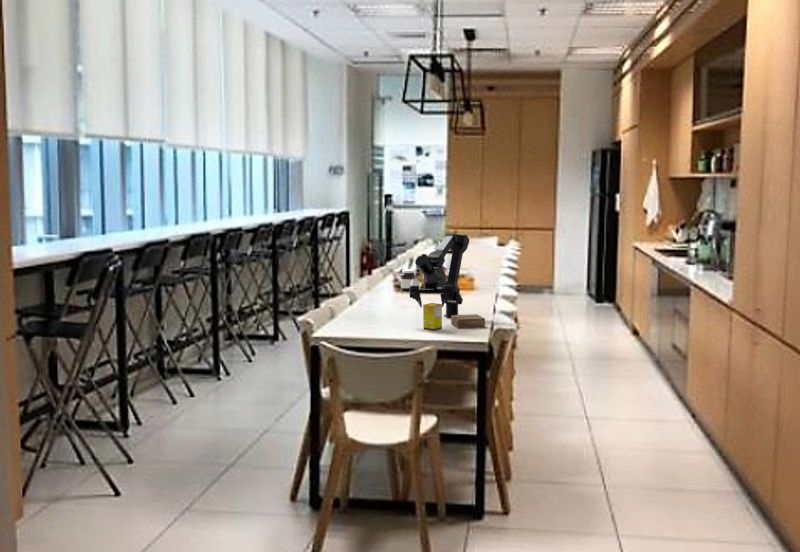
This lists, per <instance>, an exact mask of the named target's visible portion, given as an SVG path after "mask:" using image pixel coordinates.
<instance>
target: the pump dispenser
mask: <svg viewBox="0 0 800 552" xmlns="http://www.w3.org/2000/svg"><path fill="white" fill-rule="evenodd" d="M435 269H436V273H437V274H441V282H438V287H437V289H442V285H443V284H445V283H446V282H447V279H448V277H447V274H446V271H445V269H444V267H443V266H442V267H441V268H435Z"/></svg>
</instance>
